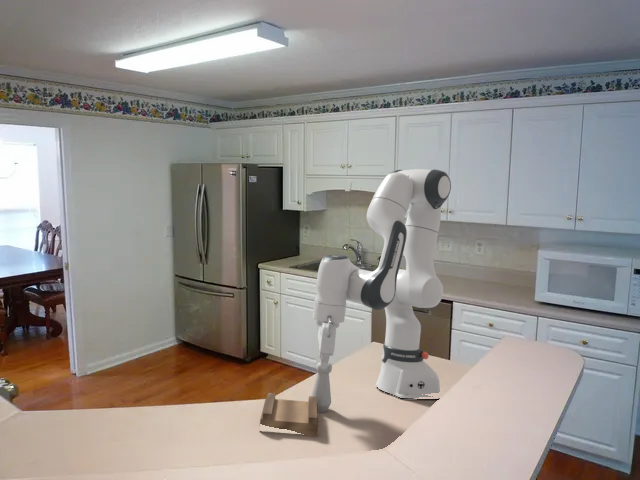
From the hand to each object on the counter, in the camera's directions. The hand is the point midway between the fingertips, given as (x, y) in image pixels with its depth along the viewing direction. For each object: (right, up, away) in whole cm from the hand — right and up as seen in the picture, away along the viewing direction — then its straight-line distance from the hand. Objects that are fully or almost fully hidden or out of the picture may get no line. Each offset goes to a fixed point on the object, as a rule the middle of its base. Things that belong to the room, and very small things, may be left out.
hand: (322, 363), depth 128 cm
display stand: (-8, -12, -10) cm, 18 cm away
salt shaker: (-1, -13, +1) cm, 13 cm away
